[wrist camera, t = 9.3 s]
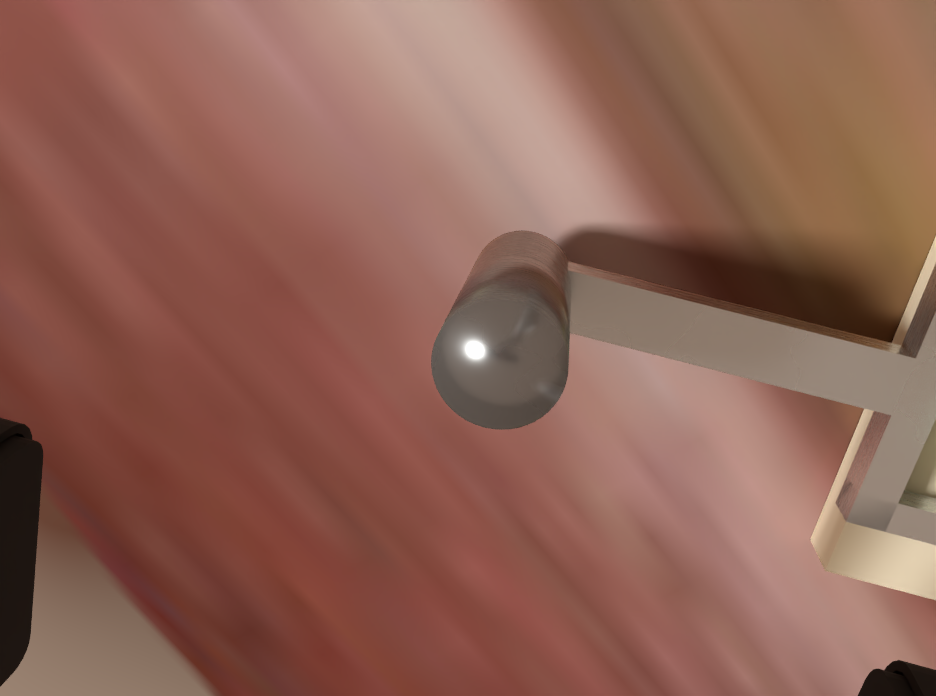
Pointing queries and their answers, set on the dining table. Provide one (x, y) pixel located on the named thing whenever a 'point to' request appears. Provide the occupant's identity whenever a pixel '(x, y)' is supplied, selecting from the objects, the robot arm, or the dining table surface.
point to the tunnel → (872, 549)
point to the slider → (687, 360)
